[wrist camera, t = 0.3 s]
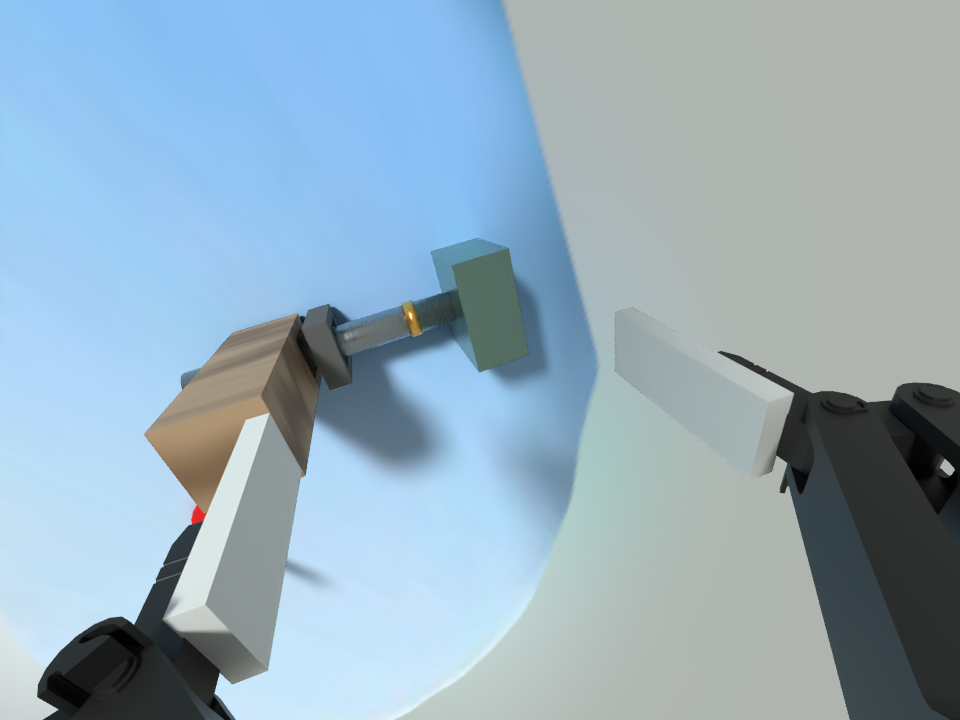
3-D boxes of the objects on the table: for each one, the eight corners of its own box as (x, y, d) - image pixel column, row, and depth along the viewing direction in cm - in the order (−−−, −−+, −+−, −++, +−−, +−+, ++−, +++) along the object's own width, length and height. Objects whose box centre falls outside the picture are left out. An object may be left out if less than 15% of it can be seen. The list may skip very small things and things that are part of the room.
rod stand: (176, 324, 35) (124, 362, 27) (477, 238, 40) (508, 248, 32) (231, 415, 39) (201, 470, 31) (496, 326, 44) (528, 354, 36)
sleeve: (232, 332, 36) (143, 434, 21) (297, 313, 37) (260, 395, 22) (262, 387, 39) (203, 513, 23) (322, 367, 40) (305, 475, 24)
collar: (308, 310, 37) (301, 328, 32) (329, 303, 38) (325, 321, 32) (332, 364, 40) (329, 390, 35) (351, 358, 40) (352, 382, 35)
